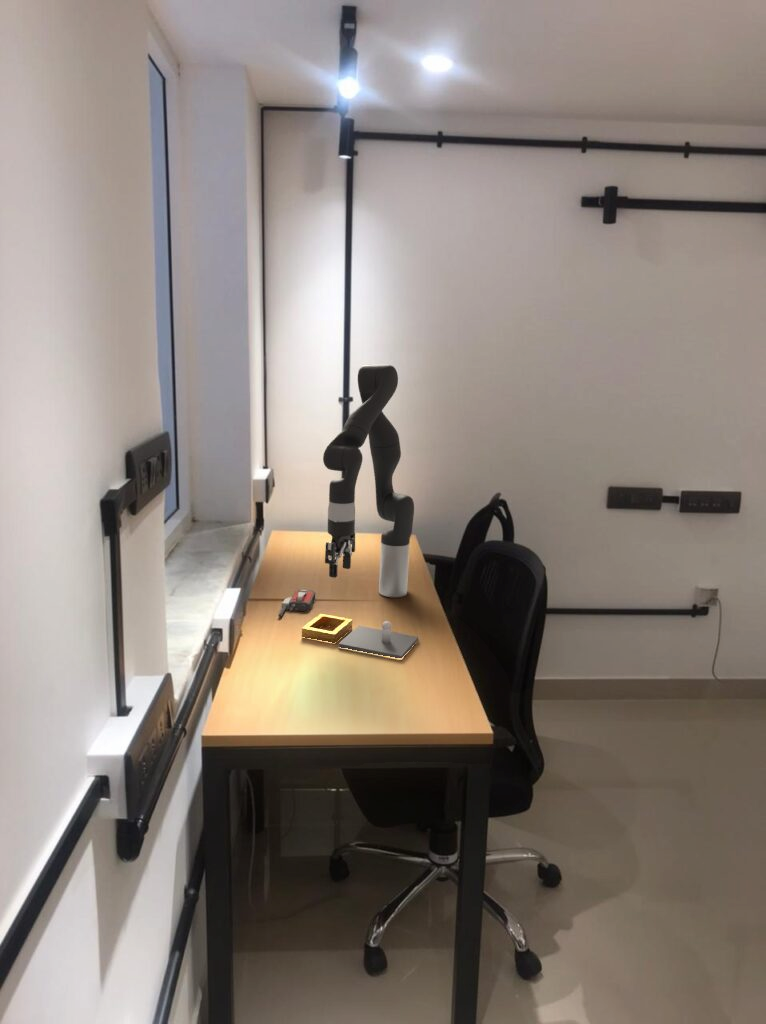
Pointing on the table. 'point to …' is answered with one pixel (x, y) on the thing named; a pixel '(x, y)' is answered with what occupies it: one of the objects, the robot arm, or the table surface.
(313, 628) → the link ring
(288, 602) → the walkie-talkie
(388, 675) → the table surface
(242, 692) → the table surface
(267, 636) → the table surface
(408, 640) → the plate
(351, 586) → the table surface
